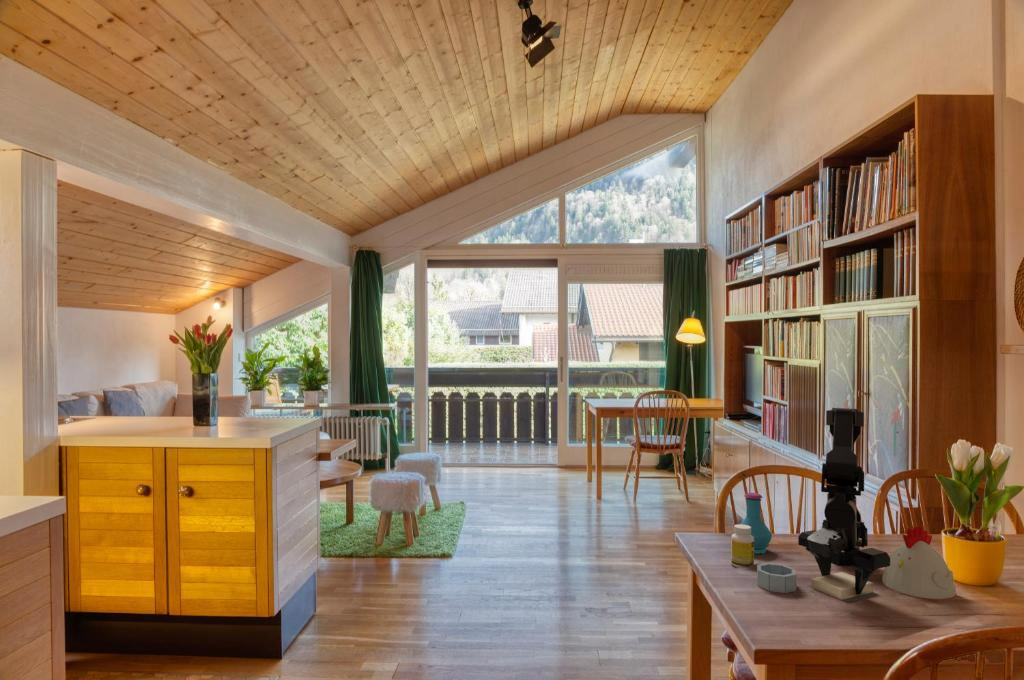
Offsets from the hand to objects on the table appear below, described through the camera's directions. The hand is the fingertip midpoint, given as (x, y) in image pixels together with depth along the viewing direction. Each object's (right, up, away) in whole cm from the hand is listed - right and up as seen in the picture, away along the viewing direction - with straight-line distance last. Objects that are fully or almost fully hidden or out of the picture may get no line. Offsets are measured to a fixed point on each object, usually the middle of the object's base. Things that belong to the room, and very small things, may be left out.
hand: (841, 587), depth 139 cm
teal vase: (-7, -2, +32) cm, 33 cm away
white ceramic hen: (+18, -2, +2) cm, 18 cm away
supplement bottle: (-15, -2, +20) cm, 25 cm away
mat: (0, -2, 0) cm, 2 cm away
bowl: (-13, -2, +3) cm, 14 cm away
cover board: (0, -1, 0) cm, 0 cm away
